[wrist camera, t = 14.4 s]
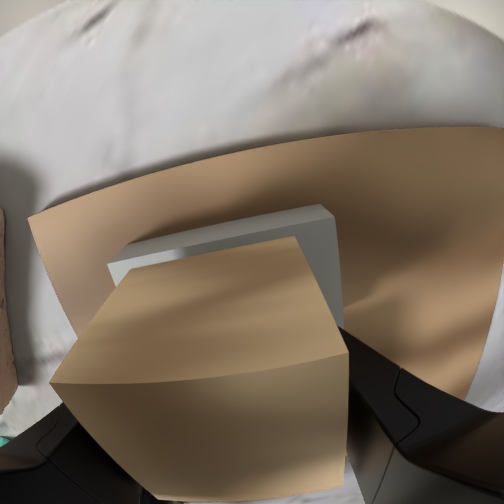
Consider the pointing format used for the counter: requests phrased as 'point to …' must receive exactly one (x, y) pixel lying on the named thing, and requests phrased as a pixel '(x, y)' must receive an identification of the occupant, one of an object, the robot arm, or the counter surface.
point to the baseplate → (347, 227)
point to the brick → (5, 336)
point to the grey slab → (246, 233)
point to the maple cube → (216, 377)
